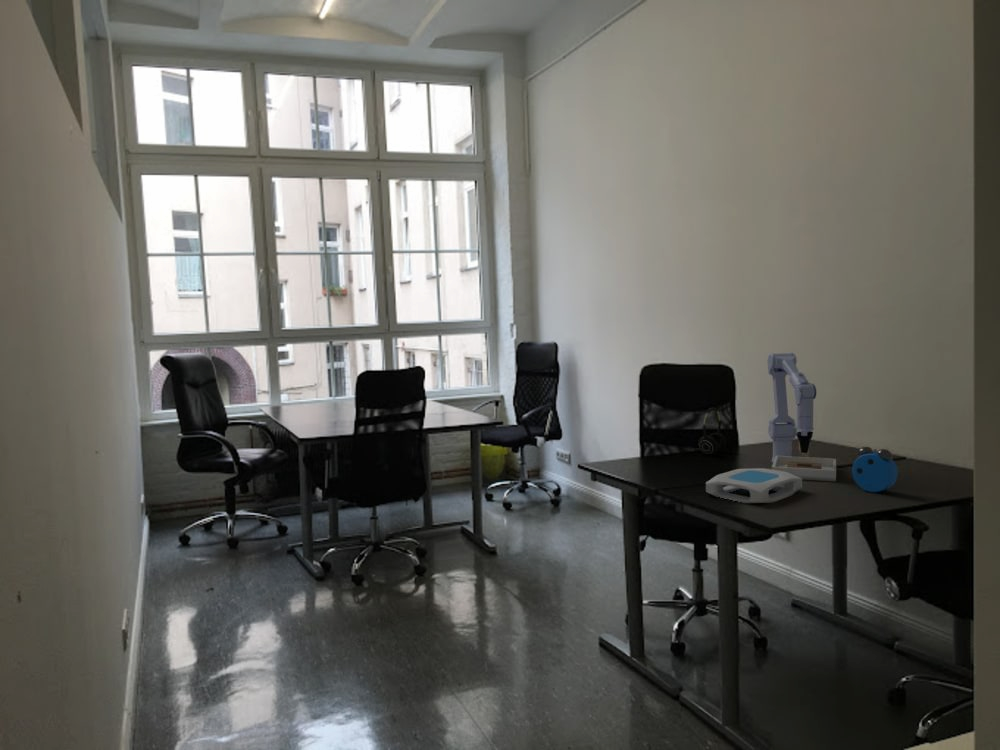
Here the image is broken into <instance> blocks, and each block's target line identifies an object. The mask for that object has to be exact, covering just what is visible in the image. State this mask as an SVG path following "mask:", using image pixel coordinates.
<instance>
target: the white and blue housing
mask: <svg viewBox="0 0 1000 750" xmlns="http://www.w3.org/2000/svg"><path fill="white" fill-rule="evenodd" d="M802 488H803V479H802V478H800V477H797V476H795V475H792V474H790V473H788V472H784V471H777V470H772V468H759V467H757V468H756V467H755V468H737V469H733V470H730V471H726V472H723V473H719V474H717V475H715V476H713V477H712V478H711V479H710V480H707V481H706V482H705V493H708V494H710V495H712V496H714V497H716V498H718V497H720V498H719V499H721V498H724V499H729V500H733V501H732V502H734V501H738V502H737V503H740V502H742V503H741V504H771V503H775V502H778V501H780V500H783V499H785V498H788V497H790V496H793V495H795V494H796V493H797V492H798V491H799V490H801V489H802ZM736 490H737V491H739V490H747V491H748V492H749V496H747V495H741V494H736V493H733V491H734V492H737V491H736ZM771 490H772V491H775V492H773V493H770V494H769V491H771ZM729 492H731V493H729ZM724 499H723V500H724ZM729 500H728V501H729Z"/></svg>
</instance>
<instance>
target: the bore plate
mask: <svg viewBox="0 0 1000 750" xmlns="http://www.w3.org/2000/svg"><path fill="white" fill-rule="evenodd" d="M787 467H791V468H808V469H822V463H810V462H791V461H788V465H787Z"/></svg>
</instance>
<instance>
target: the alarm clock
mask: <svg viewBox="0 0 1000 750" xmlns="http://www.w3.org/2000/svg"><path fill="white" fill-rule="evenodd" d="M872 451H873V452H872ZM857 455H858V457H857V458H856V459H855V461H854V462H853V464H852V468H851V469H852V476H853V480H854V482H855V483H856V484H857V485H858V486H859V487H860V488H861V489H862V490H864V491H866V492H870V493H879V492H882V491H886V492H889V491H888V489H889V488H892V487H893V486H894V484H895V483H896V481H897V479H898V475H899V474H898V473H899V472H898V467H897V464H896V462H895V461H894V460H893V454H892V452H891V451H890V450H889V449H887V448H886V449H885V448H880V449H879V450H878V449H876V448H875V449H874V448H873V449H872V448H871V447H869V446H861V447H860V448H859V449H858V450H857Z"/></svg>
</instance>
